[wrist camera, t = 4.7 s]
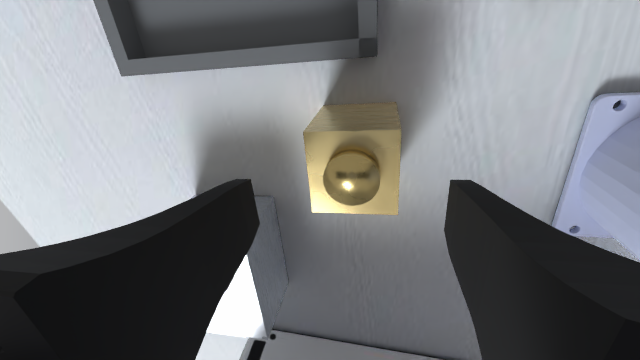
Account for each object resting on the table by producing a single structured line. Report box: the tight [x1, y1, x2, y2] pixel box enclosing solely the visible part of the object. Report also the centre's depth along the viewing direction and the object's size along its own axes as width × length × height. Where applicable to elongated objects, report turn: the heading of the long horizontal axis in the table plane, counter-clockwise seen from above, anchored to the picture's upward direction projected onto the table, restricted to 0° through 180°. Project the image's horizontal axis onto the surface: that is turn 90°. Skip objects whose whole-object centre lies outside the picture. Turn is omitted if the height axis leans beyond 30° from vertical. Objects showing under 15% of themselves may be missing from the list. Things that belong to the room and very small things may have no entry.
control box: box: [191, 195, 289, 340], centre depth 20 cm, size 6×8×6 cm
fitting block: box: [303, 102, 401, 215], centre depth 15 cm, size 4×4×6 cm
